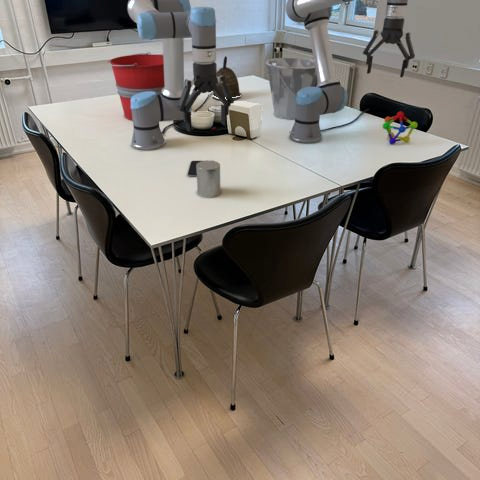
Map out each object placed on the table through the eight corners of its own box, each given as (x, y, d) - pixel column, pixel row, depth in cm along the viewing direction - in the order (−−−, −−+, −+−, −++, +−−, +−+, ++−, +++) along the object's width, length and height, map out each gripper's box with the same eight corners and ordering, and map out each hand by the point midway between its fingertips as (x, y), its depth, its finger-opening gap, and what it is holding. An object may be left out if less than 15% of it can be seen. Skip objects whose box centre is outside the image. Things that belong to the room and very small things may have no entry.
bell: (227, 105, 294) (202, 96, 282) (238, 66, 289) (213, 55, 277) (243, 108, 280) (217, 98, 268) (255, 66, 275) (229, 55, 263)
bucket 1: (123, 105, 263) (116, 51, 247) (182, 106, 262) (179, 52, 247) (107, 123, 234) (97, 63, 218) (173, 124, 233) (168, 64, 217)
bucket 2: (291, 125, 232) (295, 70, 217) (253, 113, 251) (254, 61, 236) (327, 115, 249) (333, 62, 234) (289, 104, 267) (292, 55, 253)
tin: (194, 189, 166) (193, 162, 160) (216, 186, 169) (215, 159, 163) (201, 199, 160) (200, 171, 154) (223, 195, 162) (223, 167, 157)
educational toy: (377, 146, 209) (379, 114, 202) (384, 138, 219) (386, 107, 211) (411, 149, 202) (415, 116, 195) (417, 141, 212) (420, 109, 204)
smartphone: (187, 174, 176) (191, 160, 188) (187, 176, 176) (191, 162, 189) (205, 175, 176) (208, 160, 188) (205, 176, 176) (208, 162, 189)
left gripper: (173, 68, 132) (178, 137, 143) (244, 60, 143) (243, 124, 154) (163, 63, 137) (168, 130, 148) (232, 56, 148) (232, 119, 160)
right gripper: (360, 16, 174) (352, 73, 185) (426, 20, 163) (414, 80, 174) (365, 14, 179) (358, 70, 190) (430, 18, 168) (418, 76, 180)
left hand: (206, 127), depth 151 cm, fingers open, 13 cm apart
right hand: (384, 75), depth 182 cm, fingers open, 13 cm apart
